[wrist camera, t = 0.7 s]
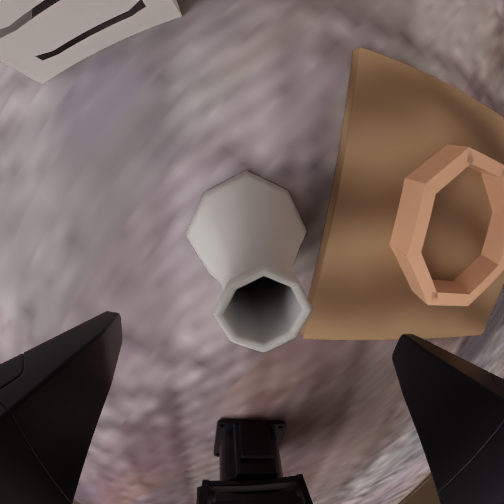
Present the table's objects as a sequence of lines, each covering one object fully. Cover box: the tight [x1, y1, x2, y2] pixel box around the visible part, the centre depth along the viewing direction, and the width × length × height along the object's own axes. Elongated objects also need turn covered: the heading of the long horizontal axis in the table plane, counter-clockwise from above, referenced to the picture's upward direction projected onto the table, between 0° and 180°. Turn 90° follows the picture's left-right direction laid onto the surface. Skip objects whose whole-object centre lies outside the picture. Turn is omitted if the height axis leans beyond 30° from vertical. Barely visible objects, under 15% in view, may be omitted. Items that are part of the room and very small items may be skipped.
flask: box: [186, 170, 313, 353], centre depth 15 cm, size 7×7×10 cm
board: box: [300, 47, 504, 340], centre depth 20 cm, size 20×20×1 cm
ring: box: [389, 144, 504, 306], centre depth 18 cm, size 11×11×2 cm
